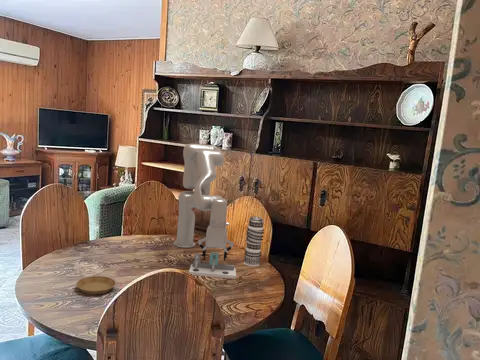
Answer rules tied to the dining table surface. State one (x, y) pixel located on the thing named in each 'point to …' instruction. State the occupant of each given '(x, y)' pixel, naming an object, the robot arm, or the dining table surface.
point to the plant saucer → (95, 285)
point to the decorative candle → (254, 241)
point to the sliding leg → (213, 259)
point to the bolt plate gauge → (206, 269)
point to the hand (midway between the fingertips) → (214, 258)
